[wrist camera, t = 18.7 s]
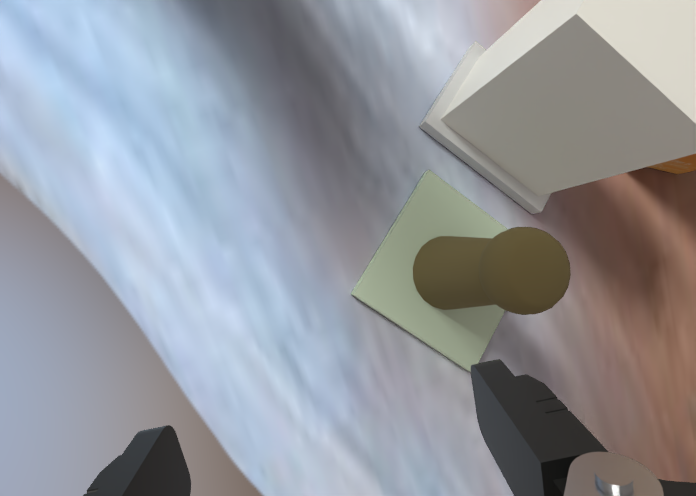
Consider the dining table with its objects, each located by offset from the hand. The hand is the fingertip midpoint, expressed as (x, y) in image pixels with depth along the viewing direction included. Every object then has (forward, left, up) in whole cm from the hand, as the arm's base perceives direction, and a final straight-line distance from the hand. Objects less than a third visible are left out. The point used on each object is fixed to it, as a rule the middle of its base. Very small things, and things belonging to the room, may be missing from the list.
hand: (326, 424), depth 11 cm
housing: (+8, +25, -20) cm, 33 cm away
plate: (+10, +12, -20) cm, 25 cm away
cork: (+10, +11, -19) cm, 24 cm away
